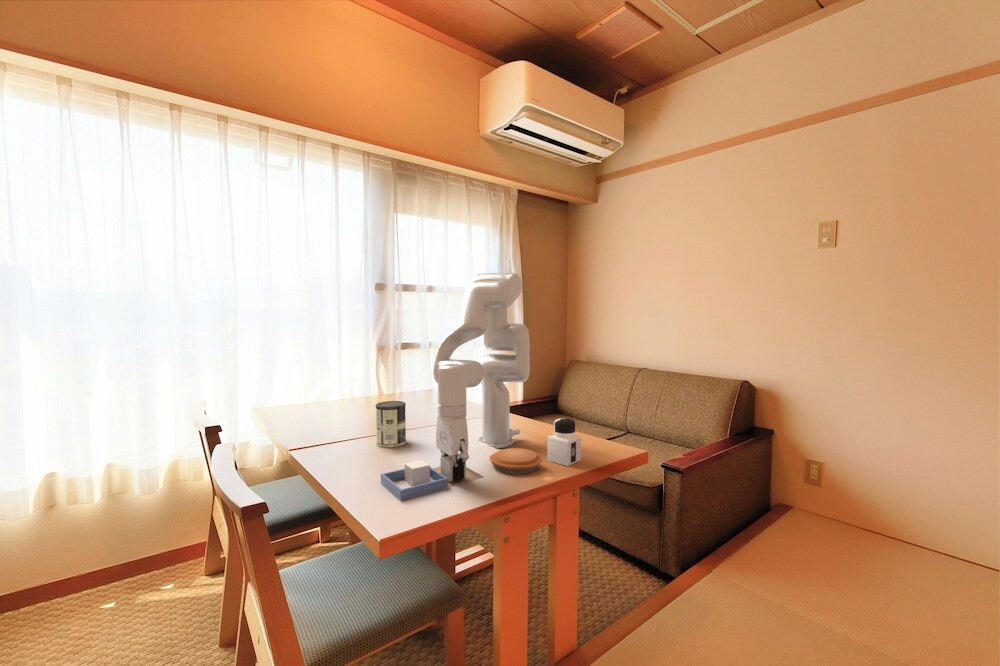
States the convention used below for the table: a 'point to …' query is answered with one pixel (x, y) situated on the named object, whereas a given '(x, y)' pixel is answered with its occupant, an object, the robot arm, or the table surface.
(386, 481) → the rectangular frame
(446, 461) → the pale white cube
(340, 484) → the table surface
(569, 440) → the container
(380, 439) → the coffee can
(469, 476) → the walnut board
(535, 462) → the pie
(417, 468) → the white block
